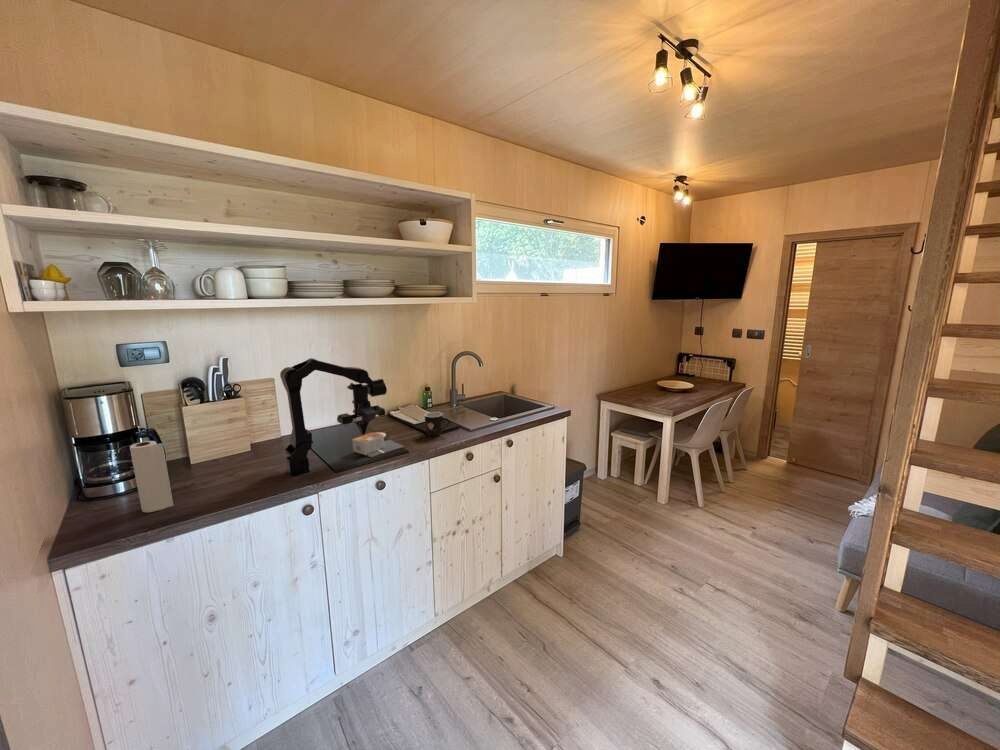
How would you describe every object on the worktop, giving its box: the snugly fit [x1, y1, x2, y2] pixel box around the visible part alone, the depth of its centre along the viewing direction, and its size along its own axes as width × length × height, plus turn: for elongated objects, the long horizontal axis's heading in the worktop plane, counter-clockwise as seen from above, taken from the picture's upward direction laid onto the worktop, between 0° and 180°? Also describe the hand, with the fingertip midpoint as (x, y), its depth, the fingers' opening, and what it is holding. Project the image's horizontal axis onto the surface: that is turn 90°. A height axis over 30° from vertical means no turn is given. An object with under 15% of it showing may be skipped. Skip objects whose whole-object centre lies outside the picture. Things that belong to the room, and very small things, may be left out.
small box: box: [351, 432, 385, 456], centre depth 171 cm, size 8×6×10 cm
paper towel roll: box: [129, 440, 174, 513], centre depth 123 cm, size 7×6×21 cm
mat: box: [365, 439, 405, 459], centre depth 173 cm, size 16×12×1 cm
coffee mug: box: [423, 411, 450, 438], centre depth 190 cm, size 12×9×10 cm
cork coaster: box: [374, 431, 387, 438], centre depth 189 cm, size 9×9×1 cm
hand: (363, 434), depth 166 cm, fingers closed
